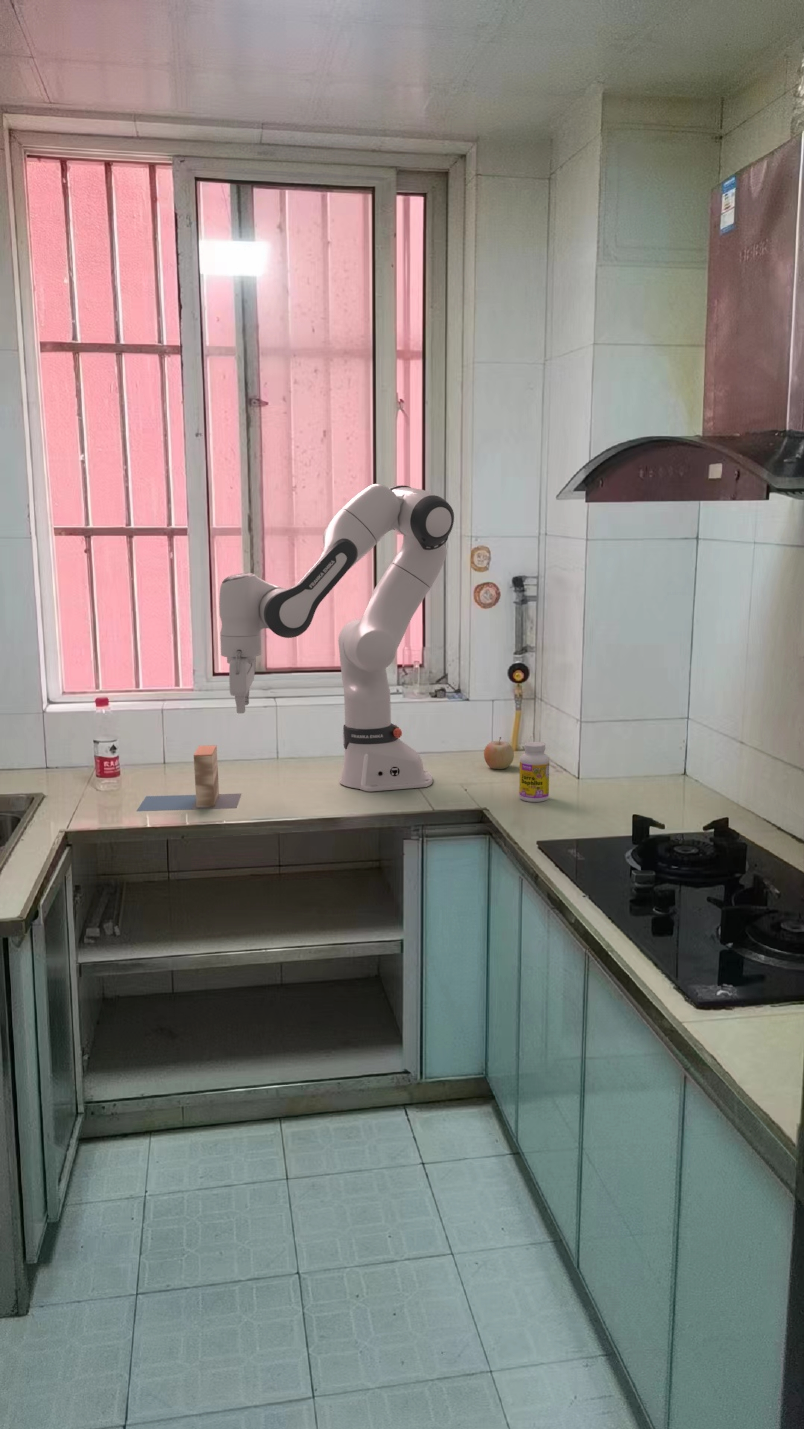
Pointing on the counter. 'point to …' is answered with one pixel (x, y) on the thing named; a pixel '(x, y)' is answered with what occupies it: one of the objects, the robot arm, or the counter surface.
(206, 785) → the wooden block
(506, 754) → the fruit
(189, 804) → the rubber mat
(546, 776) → the supplement bottle
